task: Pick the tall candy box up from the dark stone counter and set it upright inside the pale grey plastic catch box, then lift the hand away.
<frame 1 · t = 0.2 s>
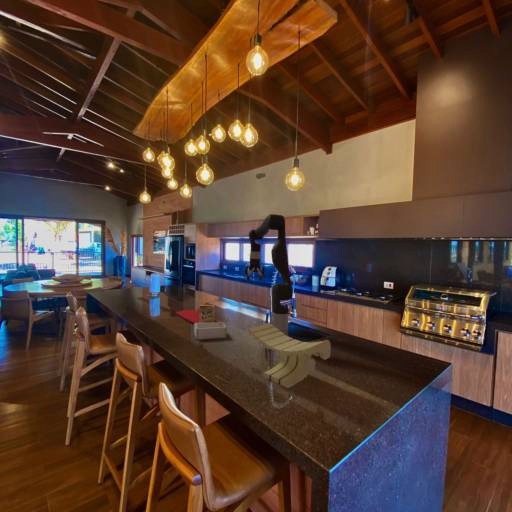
hand: (254, 281, 194), 29 cm above the kitchen island, tool pointing down, fingers open, 8 cm apart
catch box: (209, 335, 161), on the kitchen island
slatted curved stool: (286, 376, 114), on the kitchen island
red flat case: (196, 320, 195), on the kitchen island
candy box: (206, 329, 173), on the kitchen island
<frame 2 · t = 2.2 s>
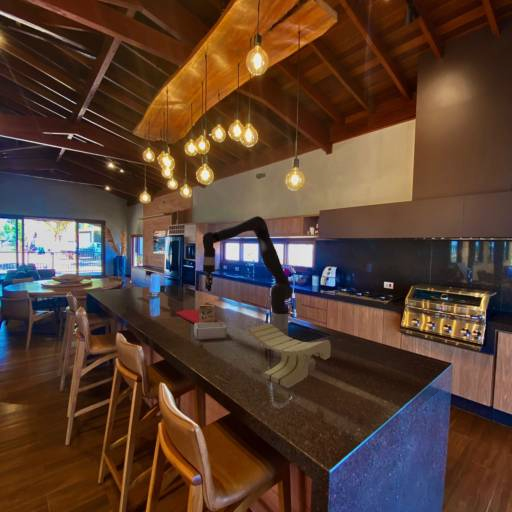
hand: (208, 290, 172), 25 cm above the kitchen island, tool pointing down, fingers open, 8 cm apart
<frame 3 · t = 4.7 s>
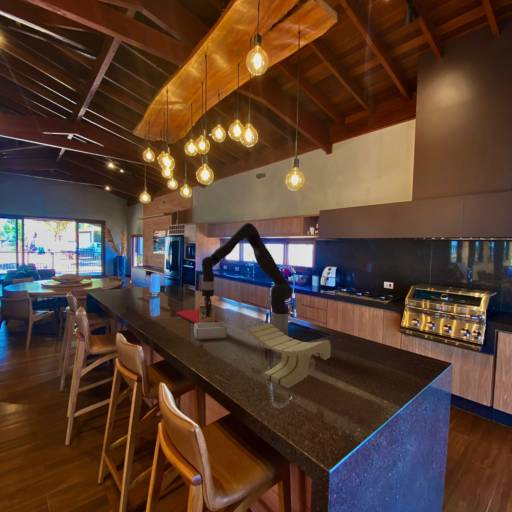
hand: (206, 315, 173), 9 cm above the kitchen island, tool pointing down, fingers closed on candy box, 5 cm apart
candy box: (206, 329, 173), on the kitchen island, touching gripper
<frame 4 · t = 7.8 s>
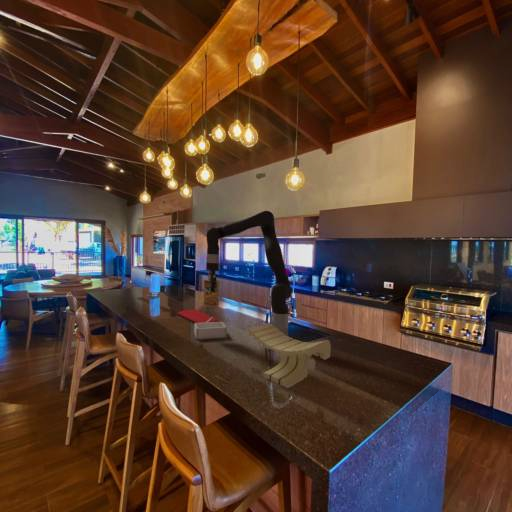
hand: (211, 290, 161), 26 cm above the kitchen island, tool pointing down, fingers closed on candy box, 5 cm apart
candy box: (211, 306, 161), point 17 cm above the kitchen island, touching gripper
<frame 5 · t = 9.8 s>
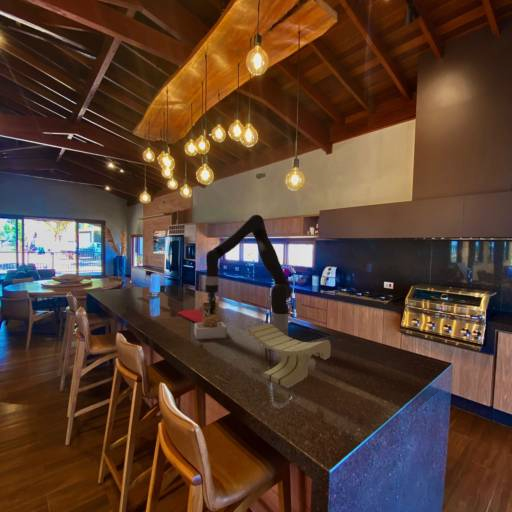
hand: (210, 312, 161), 13 cm above the kitchen island, tool pointing down, fingers closed on candy box, 5 cm apart
candy box: (210, 328, 161), point 4 cm above the kitchen island, touching gripper
when the fingers open (11 cm above the kitchen island, at t = 11.2 s): candy box drops 1 cm, resting on catch box.
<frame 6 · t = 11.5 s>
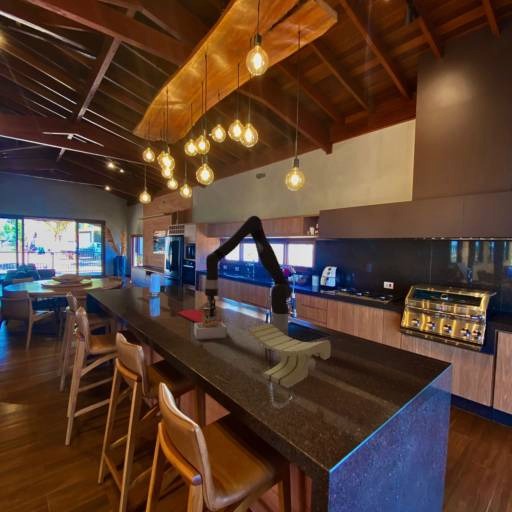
hand: (210, 315, 161), 12 cm above the kitchen island, tool pointing down, fingers open, 7 cm apart
candy box: (210, 334, 162), point 1 cm above the kitchen island, touching catch box
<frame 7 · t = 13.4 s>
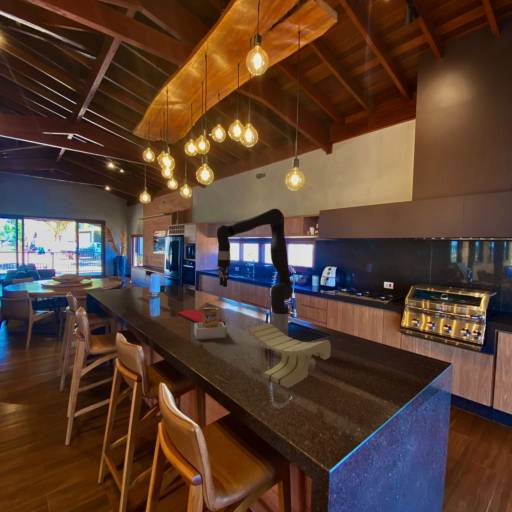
hand: (223, 286, 164), 29 cm above the kitchen island, tool pointing down, fingers open, 8 cm apart
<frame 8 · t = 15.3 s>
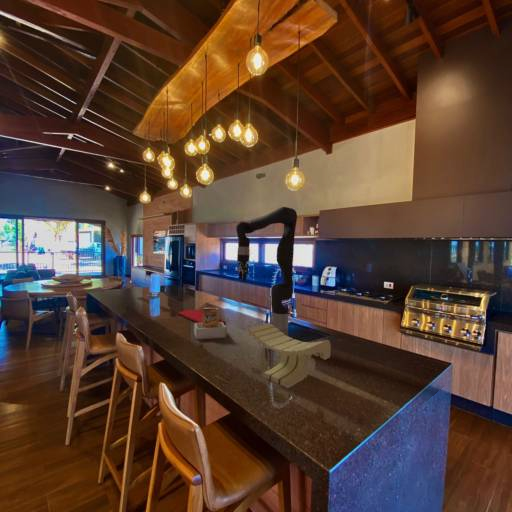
hand: (242, 279, 172), 32 cm above the kitchen island, tool pointing down, fingers open, 8 cm apart
at the end: candy box inside the target area on the catch box (0.2 cm from its centre), point 0.6 cm above the catch box's base; candy box tilted 0° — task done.
